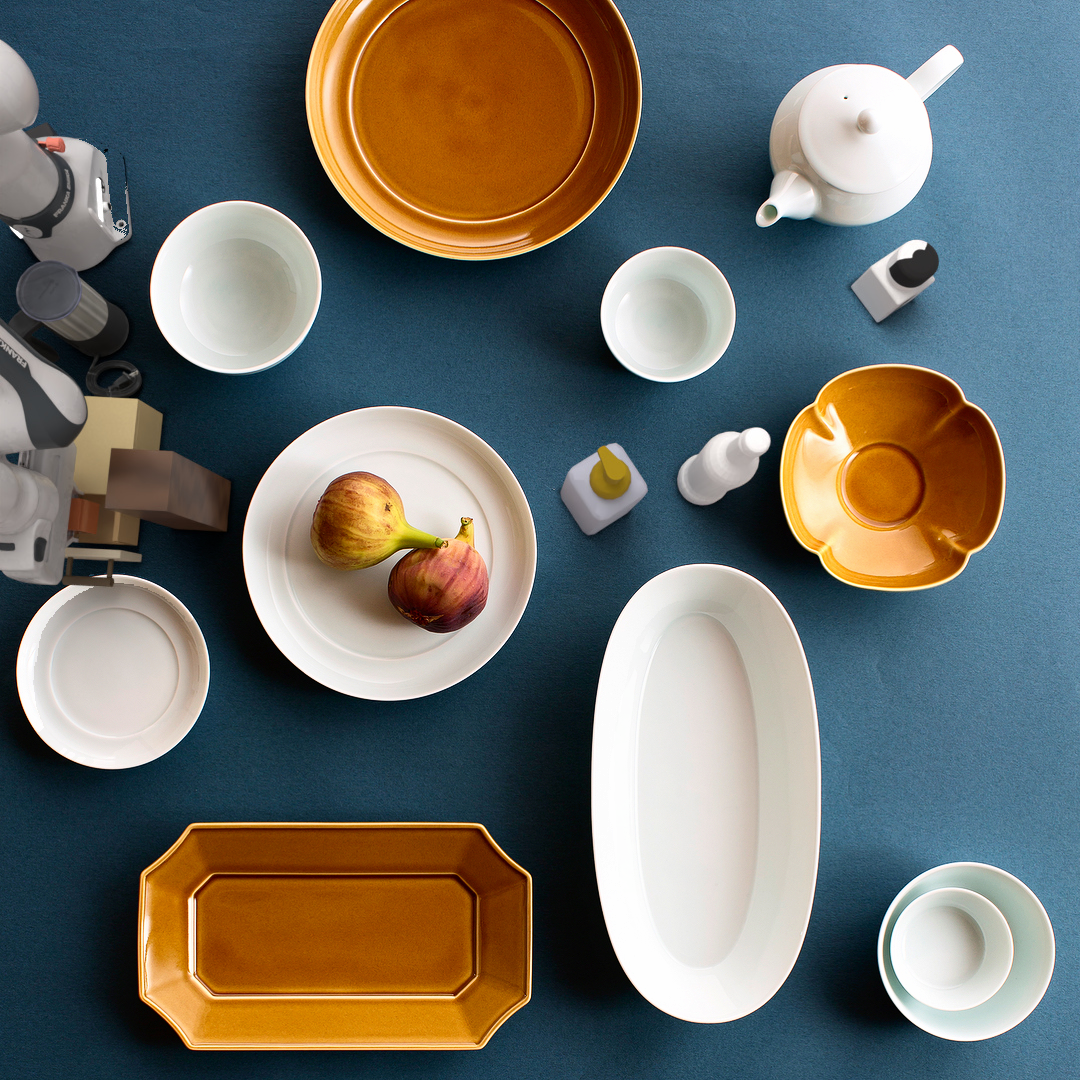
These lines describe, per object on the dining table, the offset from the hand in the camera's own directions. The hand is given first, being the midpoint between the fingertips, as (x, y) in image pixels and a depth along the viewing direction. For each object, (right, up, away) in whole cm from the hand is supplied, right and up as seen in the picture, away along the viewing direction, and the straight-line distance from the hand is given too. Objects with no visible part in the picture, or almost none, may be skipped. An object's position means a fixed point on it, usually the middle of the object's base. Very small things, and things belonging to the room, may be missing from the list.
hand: (76, 517), depth 114 cm
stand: (+14, +2, +11) cm, 18 cm away
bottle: (+93, +6, +15) cm, 94 cm away
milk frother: (-2, +27, +13) cm, 30 cm away
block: (0, 0, +2) cm, 2 cm away
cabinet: (0, +10, +11) cm, 15 cm away
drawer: (0, -2, +9) cm, 9 cm away
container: (+125, +38, +20) cm, 132 cm away
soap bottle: (+76, +3, +14) cm, 77 cm away
